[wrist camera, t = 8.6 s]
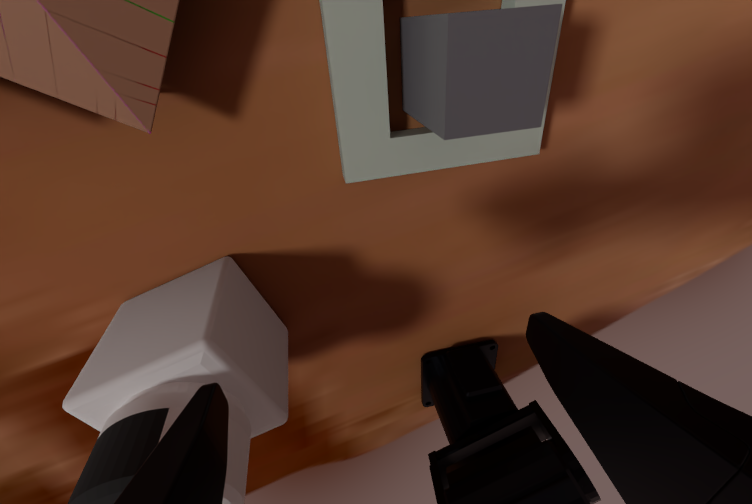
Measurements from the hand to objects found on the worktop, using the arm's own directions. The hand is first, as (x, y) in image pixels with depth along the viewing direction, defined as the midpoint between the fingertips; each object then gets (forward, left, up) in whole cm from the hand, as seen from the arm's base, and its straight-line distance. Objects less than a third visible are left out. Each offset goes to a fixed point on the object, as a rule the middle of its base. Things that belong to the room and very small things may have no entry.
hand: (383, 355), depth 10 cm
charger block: (+6, -6, -12) cm, 15 cm away
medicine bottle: (-7, +9, -12) cm, 17 cm away
